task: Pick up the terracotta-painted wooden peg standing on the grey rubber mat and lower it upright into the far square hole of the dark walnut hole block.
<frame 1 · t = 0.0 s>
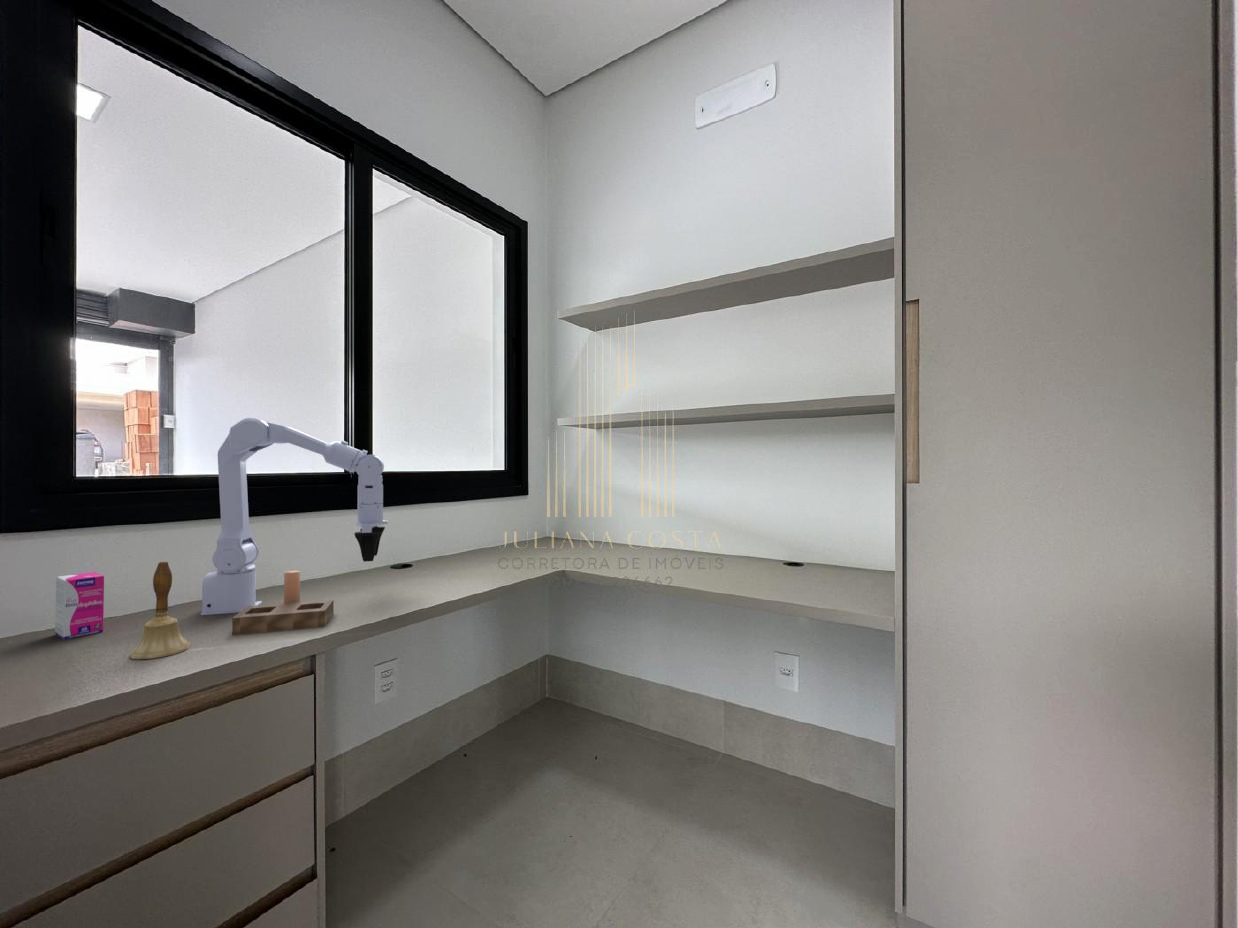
hand: (370, 558, 129), 10 cm above the table, fingers open, 7 cm apart
mat: (292, 612, 117), on the table
hand bell: (161, 652, 93), on the table
hole block: (286, 624, 108), on the table
supplement box: (79, 634, 103), on the table
peg: (292, 612, 116), resting on mat
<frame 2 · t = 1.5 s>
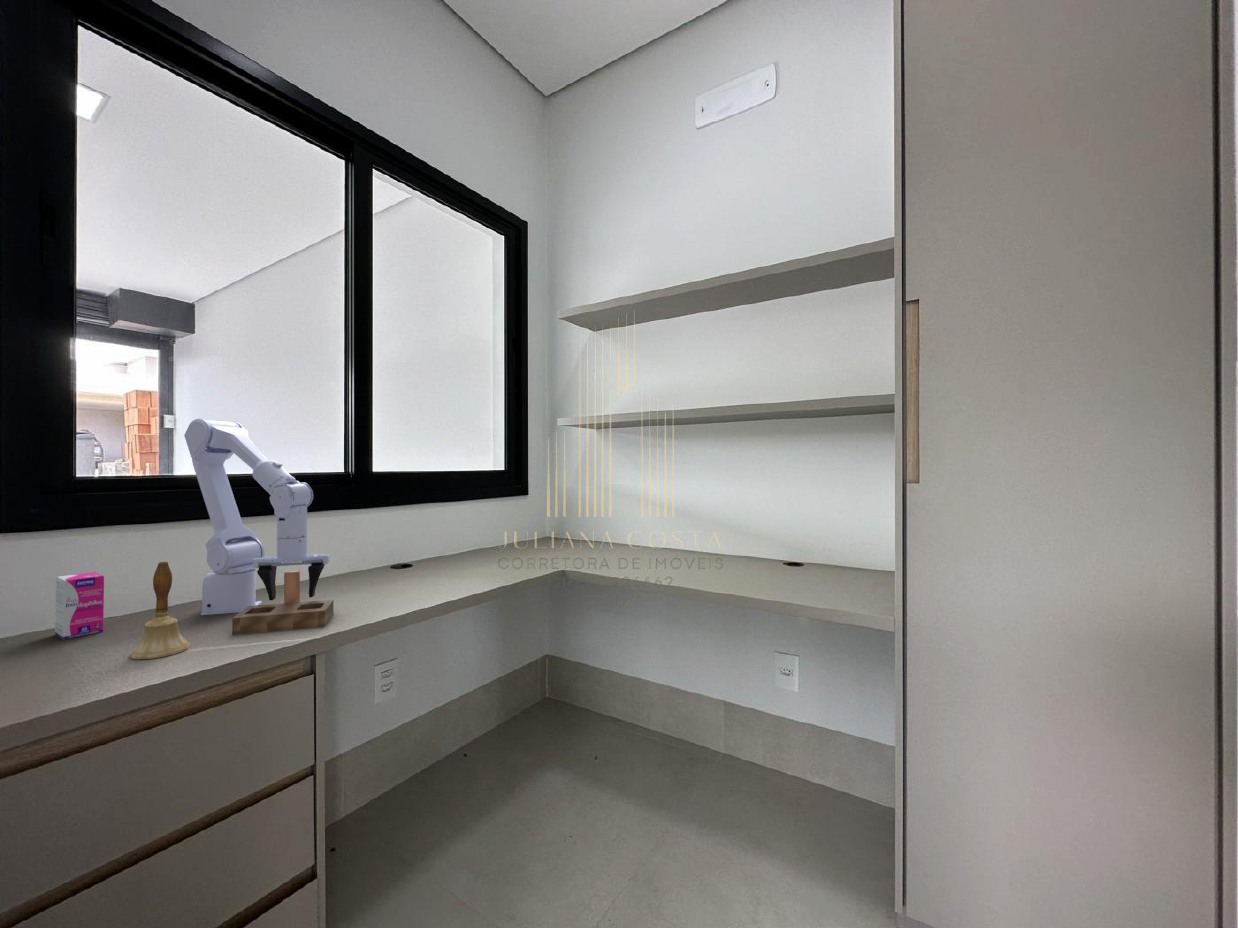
hand: (292, 597, 116), 4 cm above the table, fingers open, 7 cm apart
nothing on the table moved.
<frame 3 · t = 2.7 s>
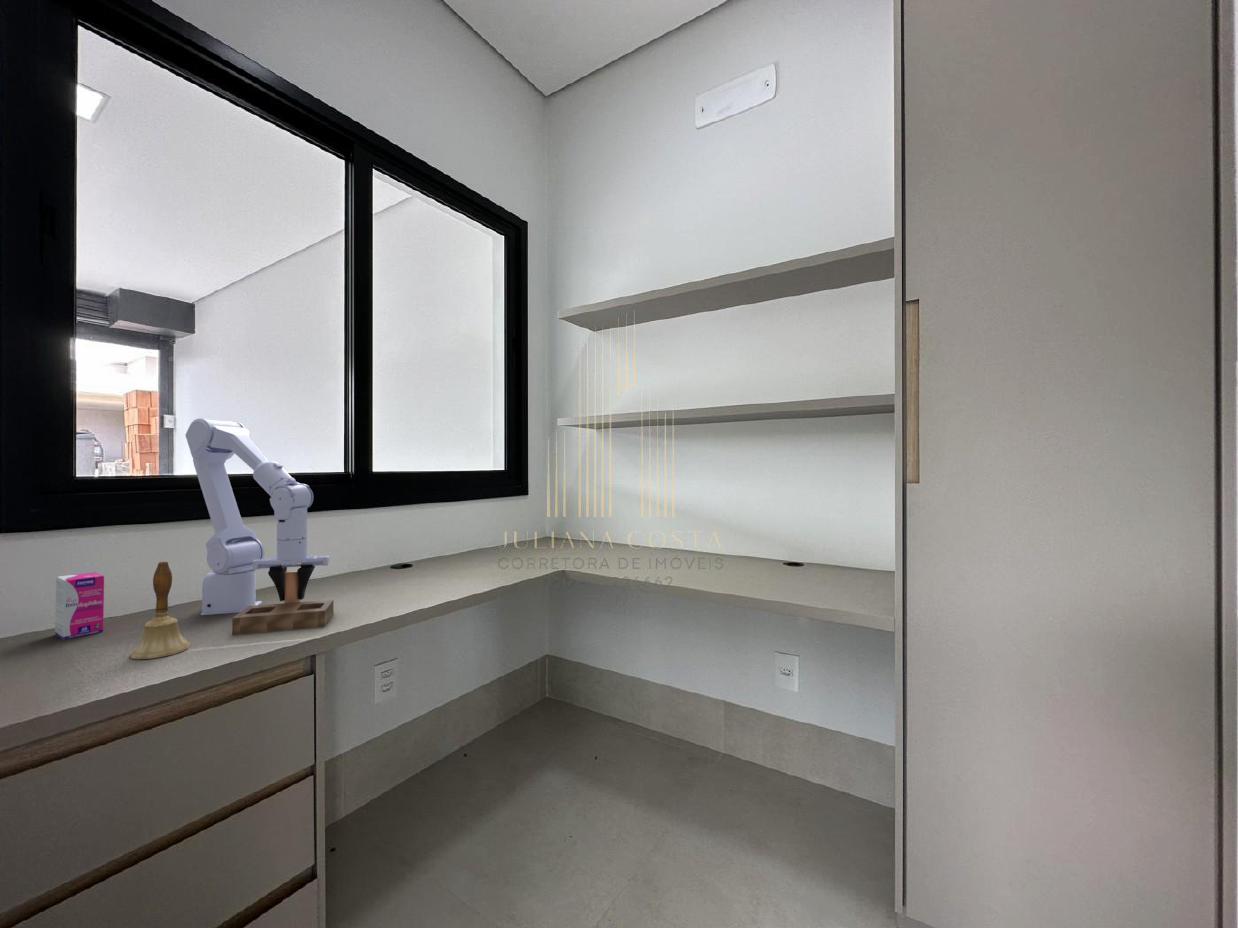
hand: (292, 599, 116), 3 cm above the table, fingers closed on peg, 3 cm apart
peg: (292, 612, 116), resting on mat, touching gripper
everything else where it was.
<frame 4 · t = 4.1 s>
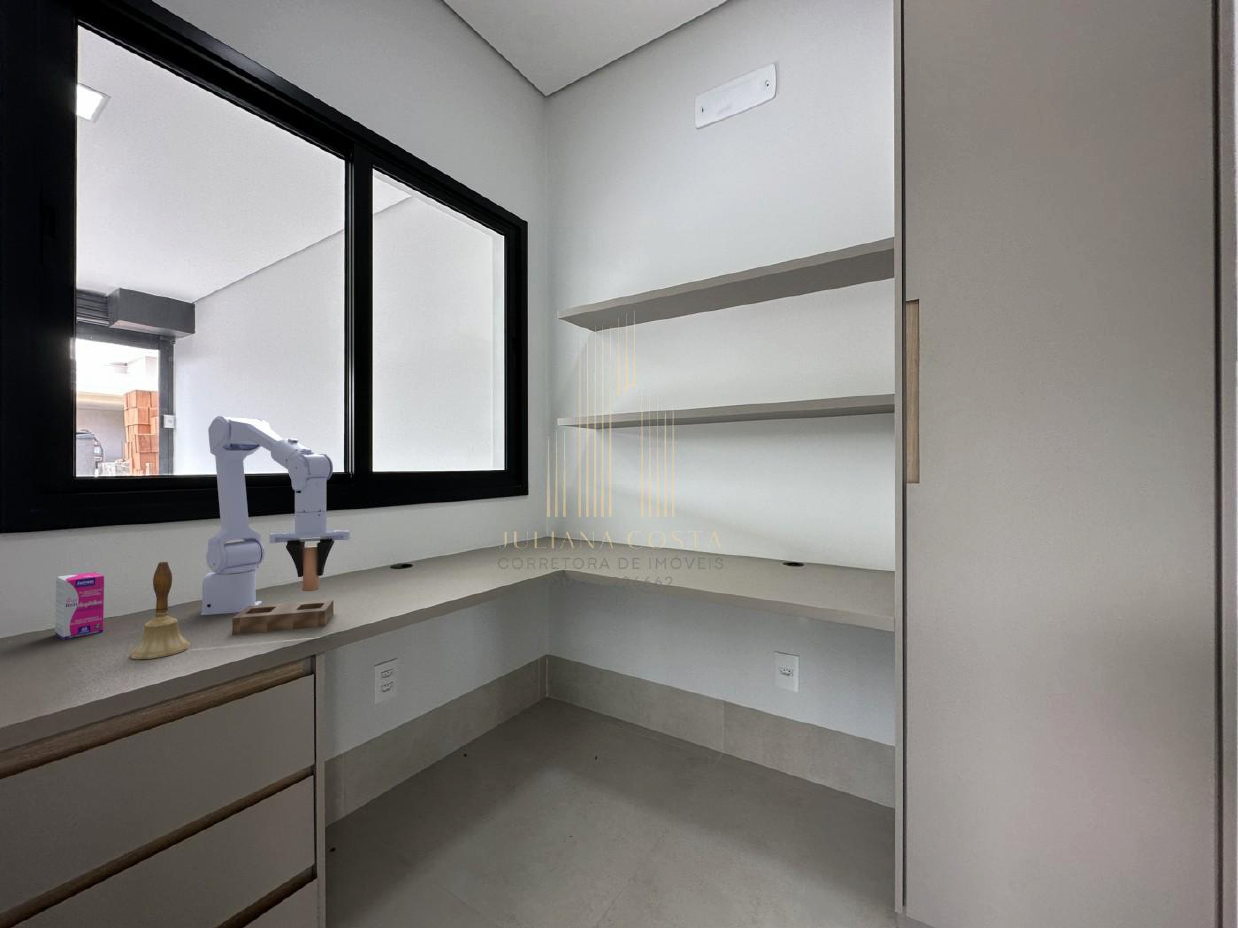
hand: (310, 575, 110), 10 cm above the table, fingers closed on peg, 3 cm apart
peg: (310, 589, 110), point 7 cm above the table, touching gripper
everything else where it was.
when the fingers open (4 cm above the table, at t = 5.4 s): peg drops 1 cm, resting in hole block.
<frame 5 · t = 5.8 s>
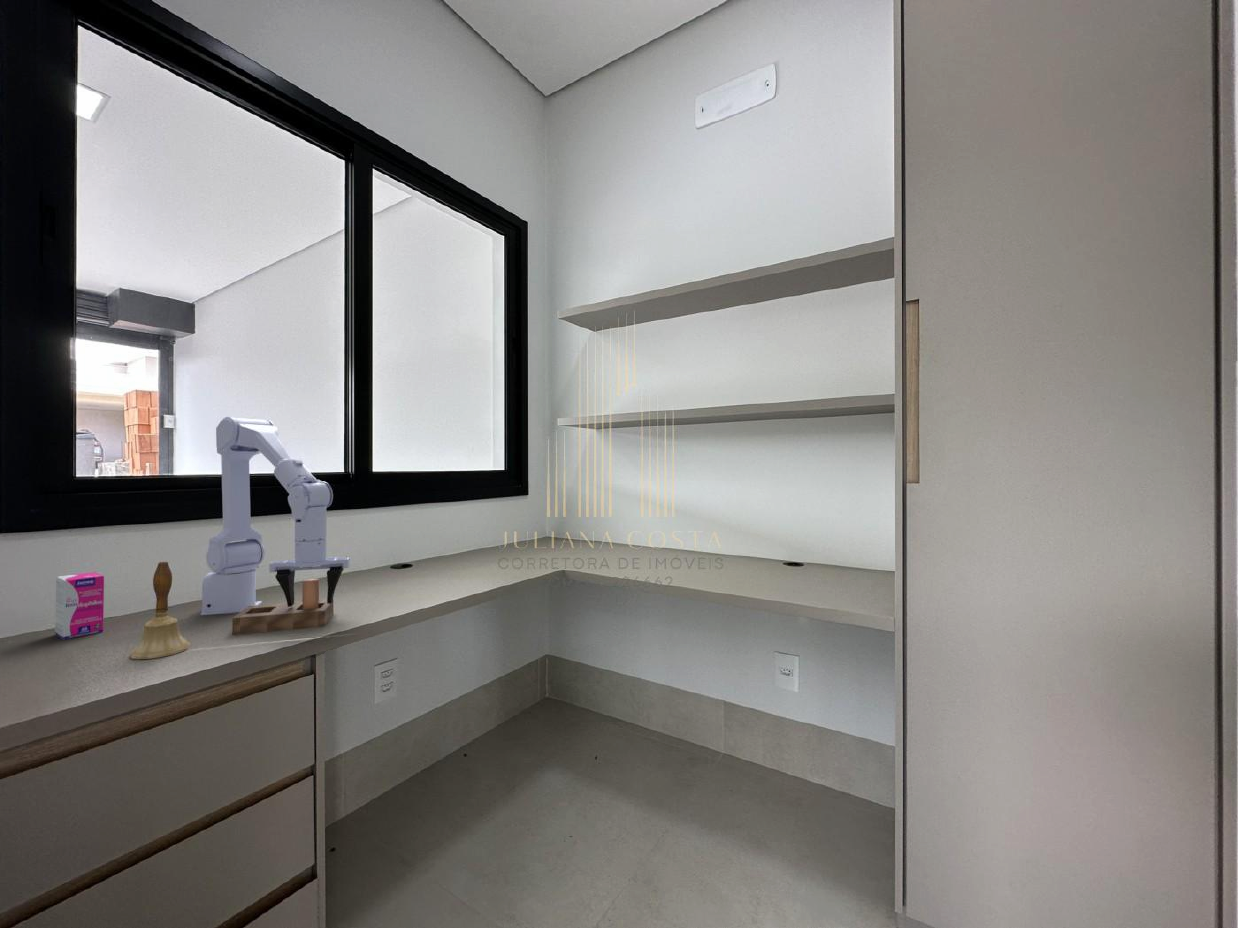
hand: (310, 603, 110), 4 cm above the table, fingers open, 7 cm apart
peg: (310, 622, 110), resting in hole block
everything else where it was.
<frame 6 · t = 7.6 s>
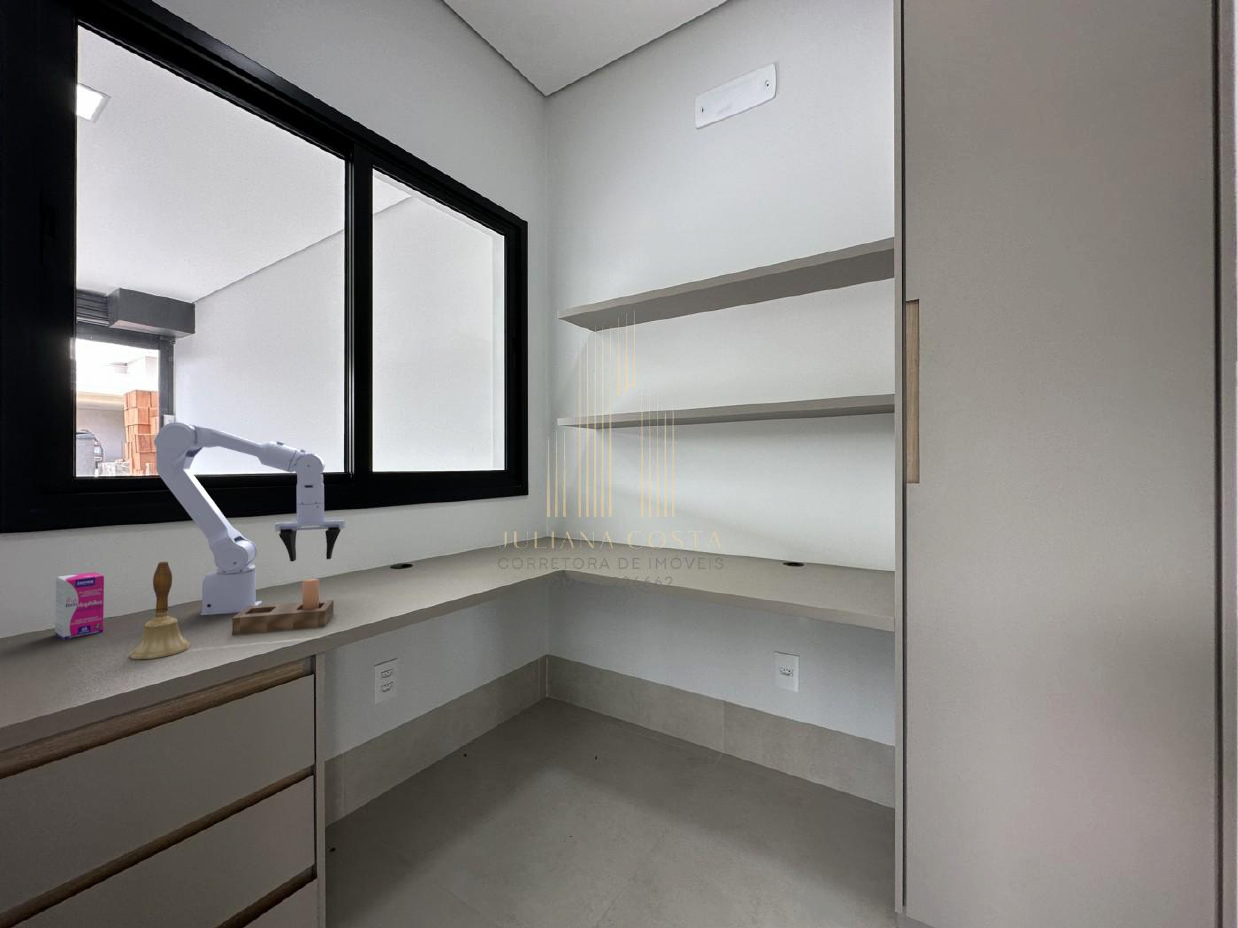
hand: (311, 559, 126), 10 cm above the table, fingers open, 7 cm apart
nothing on the table moved.
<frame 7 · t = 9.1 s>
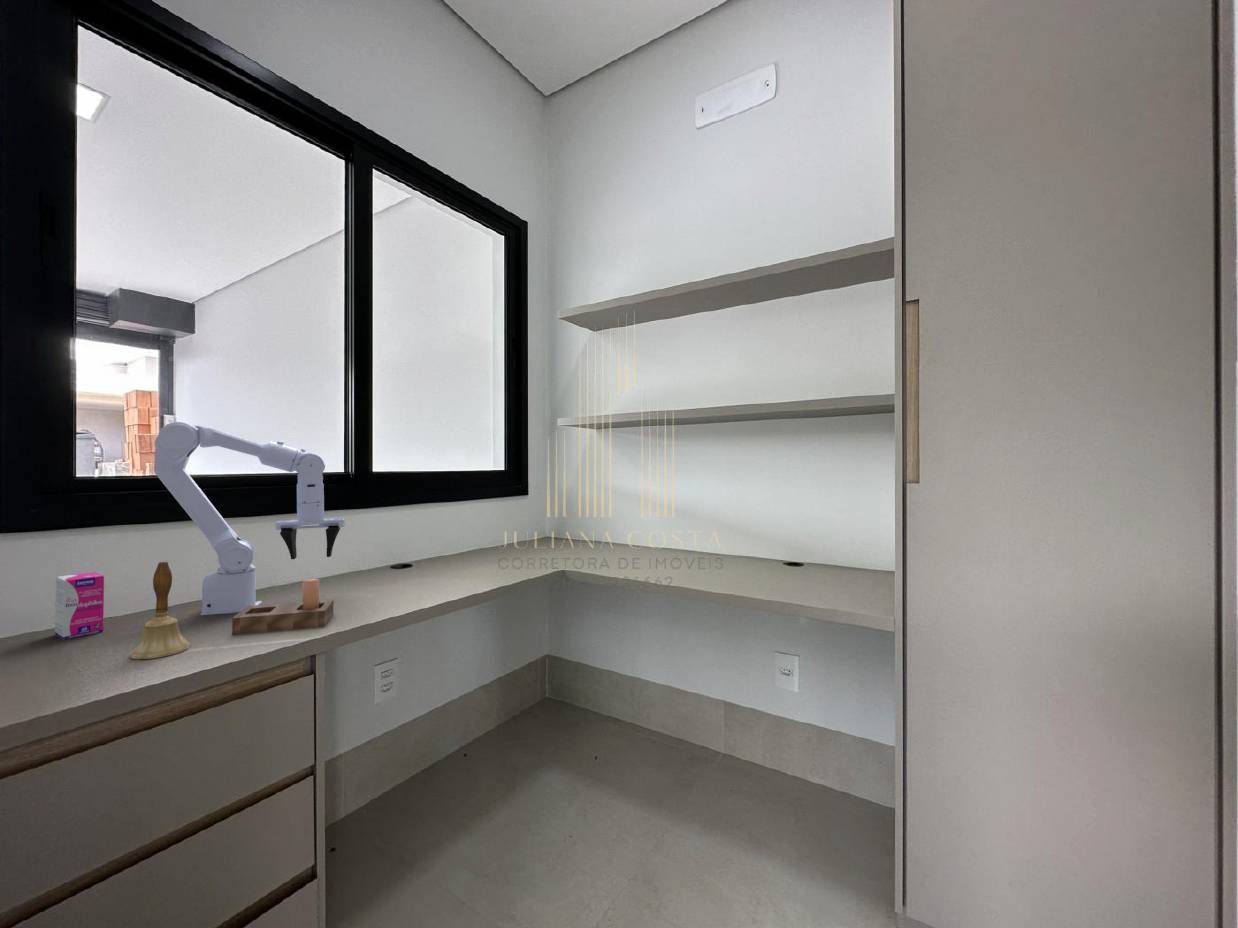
hand: (311, 557, 128), 10 cm above the table, fingers open, 7 cm apart
nothing on the table moved.
at the end: peg 0.1 cm from the target spot on the hole block, point 0.0 cm above the hole block's base; peg tilted 0°; the gripper is holding nothing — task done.
